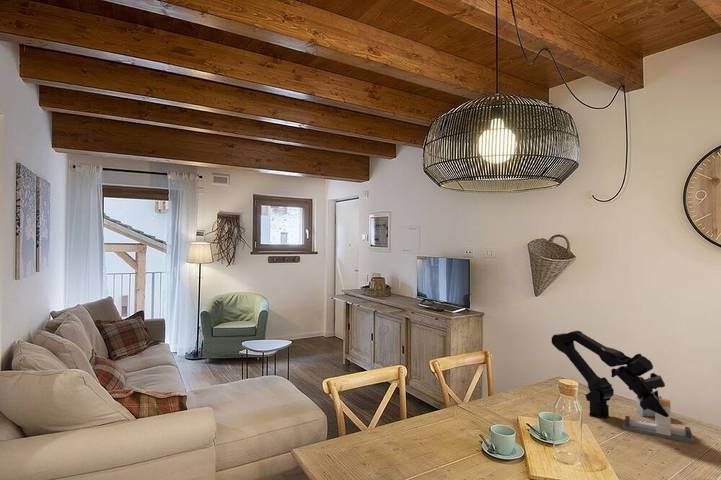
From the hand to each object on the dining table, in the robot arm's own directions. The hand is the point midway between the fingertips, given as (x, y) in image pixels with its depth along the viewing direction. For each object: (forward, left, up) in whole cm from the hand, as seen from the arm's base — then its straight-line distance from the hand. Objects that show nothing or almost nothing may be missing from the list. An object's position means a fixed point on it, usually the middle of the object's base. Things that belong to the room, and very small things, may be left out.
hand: (667, 414), depth 158 cm
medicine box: (-5, +18, -8) cm, 20 cm away
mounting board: (-3, 0, -8) cm, 8 cm away
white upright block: (-2, 0, -7) cm, 7 cm away
